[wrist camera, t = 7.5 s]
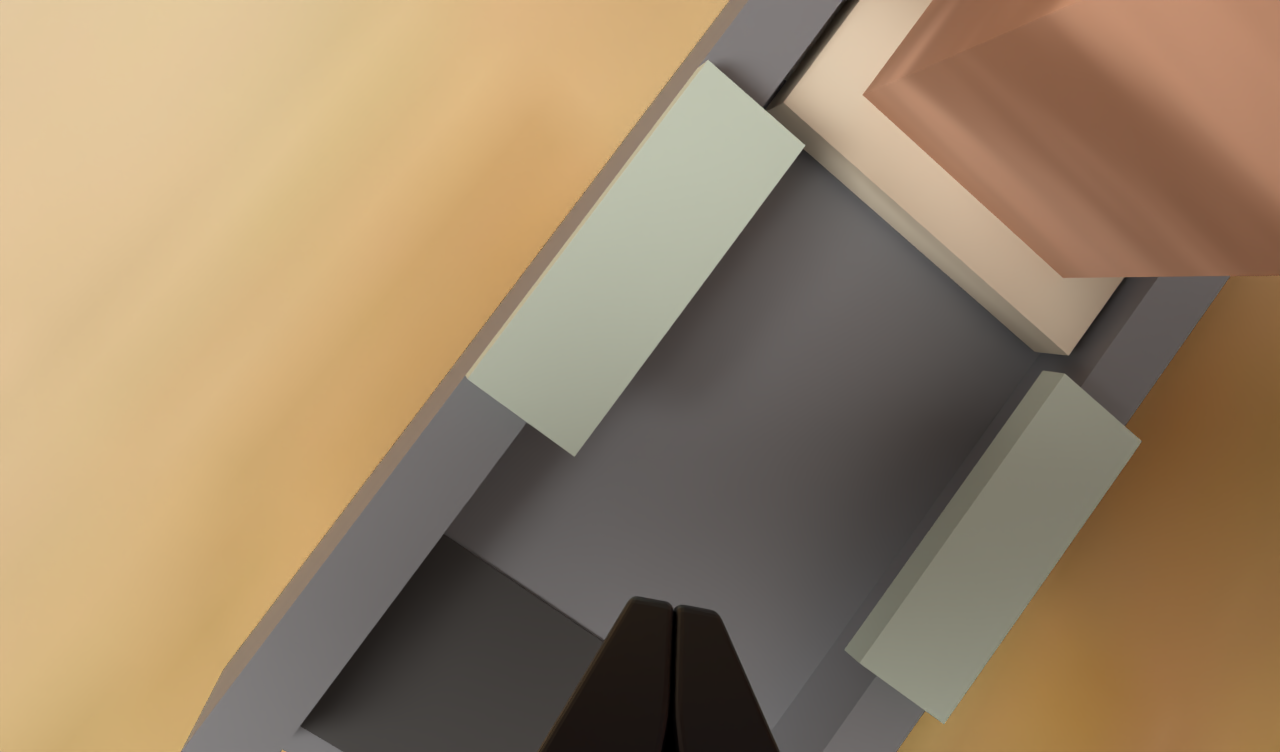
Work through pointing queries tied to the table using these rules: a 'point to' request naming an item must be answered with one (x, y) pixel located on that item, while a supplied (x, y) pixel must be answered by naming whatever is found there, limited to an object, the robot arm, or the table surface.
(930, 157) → the salmon pink rectangular block
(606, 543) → the track
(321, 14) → the table surface
